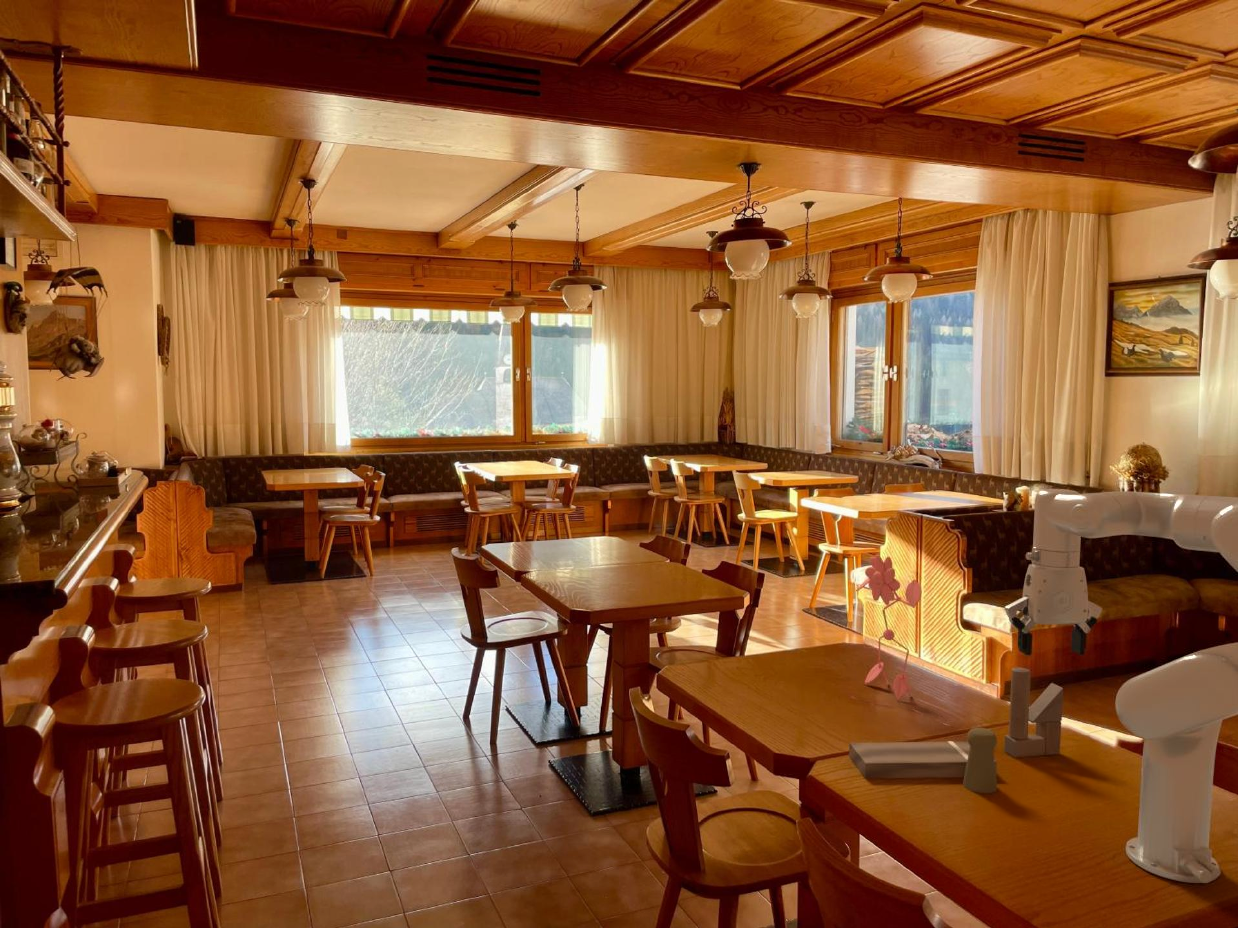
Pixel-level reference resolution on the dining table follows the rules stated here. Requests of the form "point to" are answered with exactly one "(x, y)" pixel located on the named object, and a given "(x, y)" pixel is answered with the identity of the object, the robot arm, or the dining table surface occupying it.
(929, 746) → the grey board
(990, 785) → the olive green peg figure
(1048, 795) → the dining table surface
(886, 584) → the pink wire flower
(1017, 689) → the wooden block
